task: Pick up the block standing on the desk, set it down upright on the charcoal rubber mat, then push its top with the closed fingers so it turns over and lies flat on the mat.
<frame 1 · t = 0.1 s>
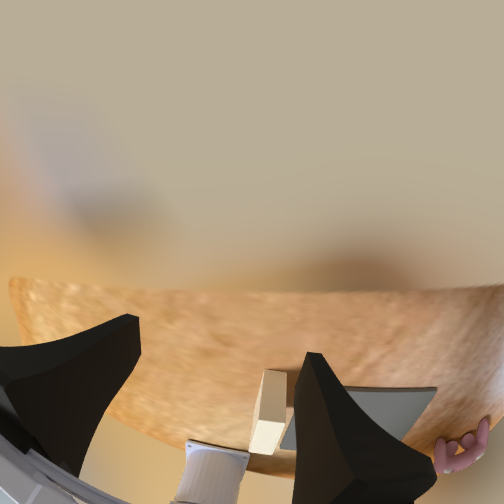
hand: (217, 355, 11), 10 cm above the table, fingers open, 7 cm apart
block: (270, 389, 24), on the table
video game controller: (457, 435, 25), on the table
mat: (357, 422, 24), on the table
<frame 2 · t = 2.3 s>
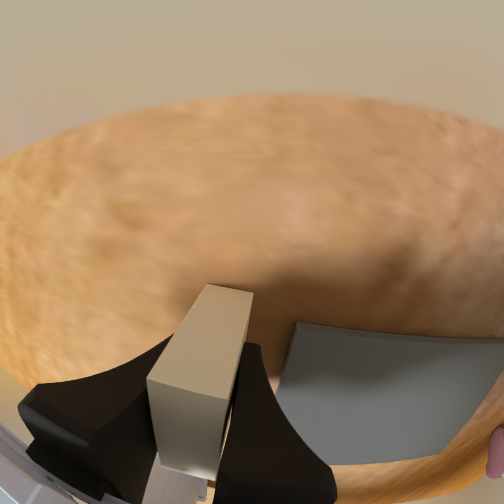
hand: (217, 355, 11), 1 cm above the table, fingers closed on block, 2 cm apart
block: (223, 337, 12), on the table, touching gripper
mat: (394, 411, 13), on the table
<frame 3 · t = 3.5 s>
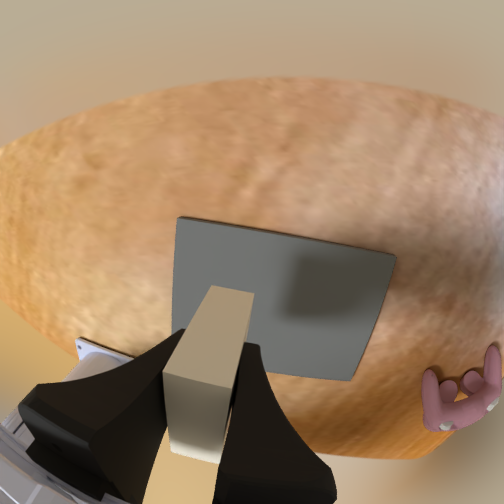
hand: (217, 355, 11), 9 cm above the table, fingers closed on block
block: (227, 333, 13), point 6 cm above the table, touching gripper
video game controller: (454, 374, 20), on the table
mat: (275, 309, 20), on the table
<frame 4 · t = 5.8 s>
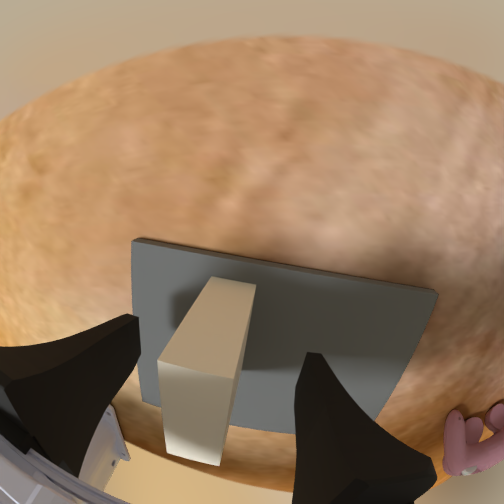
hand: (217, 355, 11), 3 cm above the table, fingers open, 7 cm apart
block: (227, 328, 13), point 1 cm above the table, touching mat
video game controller: (480, 408, 14), on the table
mat: (271, 362, 14), on the table
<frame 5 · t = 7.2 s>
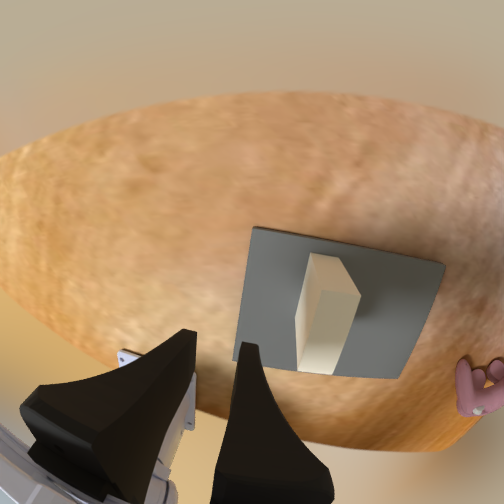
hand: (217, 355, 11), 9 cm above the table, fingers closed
block: (316, 289, 19), point 1 cm above the table, touching mat
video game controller: (481, 363, 20), on the table
mat: (340, 315, 20), on the table
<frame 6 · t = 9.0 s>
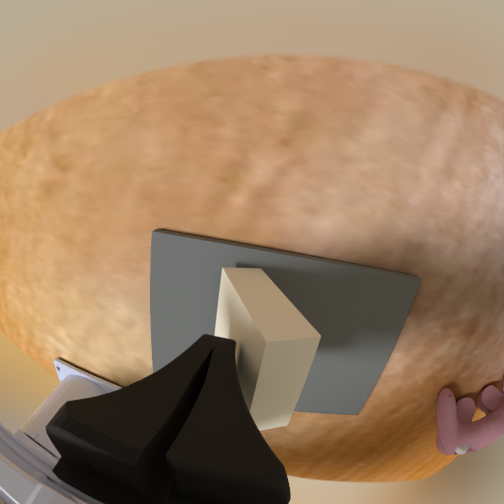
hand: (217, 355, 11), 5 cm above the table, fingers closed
block: (235, 311, 15), point 1 cm above the table, tilted 24°, touching mat
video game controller: (472, 389, 16), on the table
mat: (273, 340, 16), on the table
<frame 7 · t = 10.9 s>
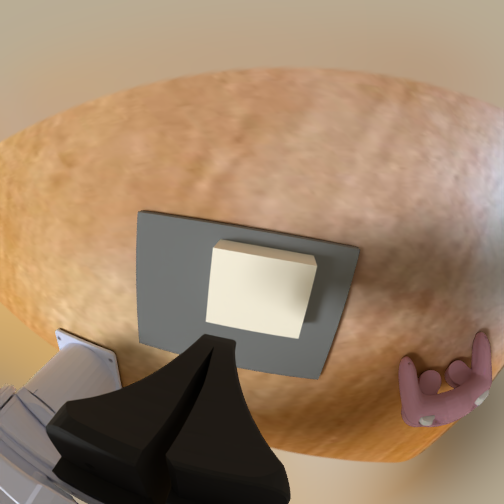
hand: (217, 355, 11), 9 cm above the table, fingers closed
block: (212, 280, 18), point 2 cm above the table, tilted 90°, touching mat
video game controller: (438, 363, 20), on the table
mat: (235, 302, 20), on the table
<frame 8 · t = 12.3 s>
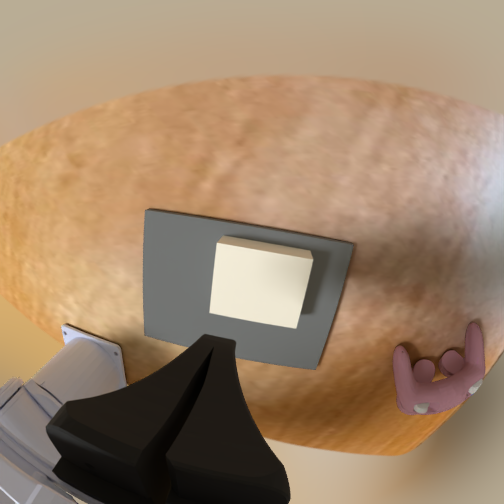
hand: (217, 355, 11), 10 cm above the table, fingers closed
block: (216, 274, 19), point 2 cm above the table, tilted 90°, touching mat
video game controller: (432, 353, 21), on the table
mat: (236, 295, 21), on the table
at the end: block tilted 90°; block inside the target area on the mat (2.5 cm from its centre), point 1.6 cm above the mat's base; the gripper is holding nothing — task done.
